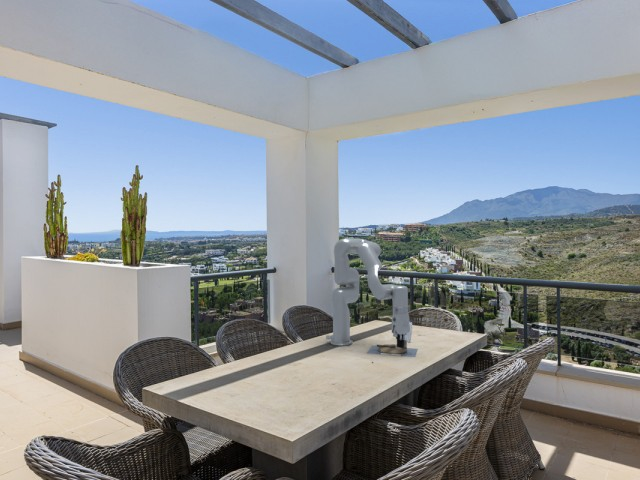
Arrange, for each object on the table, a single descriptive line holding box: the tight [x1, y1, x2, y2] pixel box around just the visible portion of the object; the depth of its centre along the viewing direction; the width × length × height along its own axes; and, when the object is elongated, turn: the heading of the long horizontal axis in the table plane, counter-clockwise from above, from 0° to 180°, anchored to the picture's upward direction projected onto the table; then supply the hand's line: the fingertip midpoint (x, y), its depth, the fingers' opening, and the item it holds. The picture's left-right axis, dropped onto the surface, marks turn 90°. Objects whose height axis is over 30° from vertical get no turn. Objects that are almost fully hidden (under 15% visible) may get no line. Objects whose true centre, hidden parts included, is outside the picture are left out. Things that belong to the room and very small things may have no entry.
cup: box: [404, 321, 413, 343], centre depth 243 cm, size 9×9×12 cm
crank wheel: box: [376, 340, 408, 354], centre depth 220 cm, size 15×14×6 cm
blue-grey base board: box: [366, 345, 419, 358], centre depth 220 cm, size 24×17×2 cm
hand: (400, 347), depth 215 cm, fingers closed
